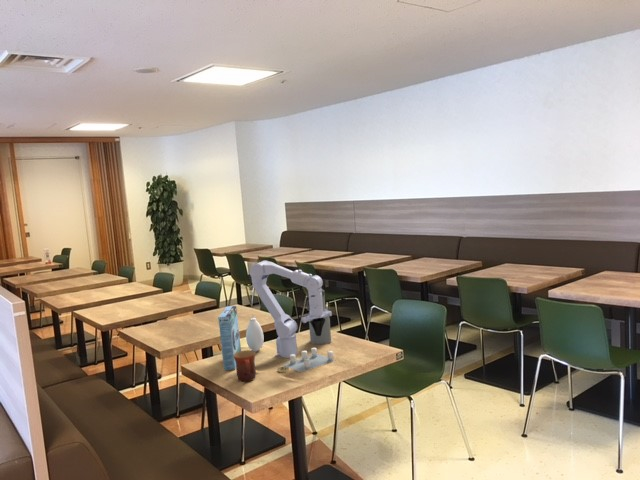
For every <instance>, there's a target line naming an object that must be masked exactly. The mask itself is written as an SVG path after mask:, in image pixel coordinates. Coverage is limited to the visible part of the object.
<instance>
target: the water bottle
mask: <svg viewBox="0 0 640 480" xmlns="http://www.w3.org/2000/svg"><path fill="white" fill-rule="evenodd" d="M322 286H323V285H322ZM322 286H321V287H320V288H321V289H322V301H323V312H325V311H329V310H328V309H327V308H326V300H325V297H326V296H325V295H326V293H325V290H324V289H323V287H322ZM307 297H308V298H309V293H308V292H307ZM306 310H307V312H308V314H307V316H308V315H310V306H309V299H307V301H306ZM323 318H324V319H325V323H324V325H323V328H322V333H321V336H316V334H315V331H314V328H313V326H312V325H311V323H310V321H308V324H309V325H308V326H309V327H308V329H309V338H310V339H309V341H310V343H311V344H313V345H324V344H325V345H326V344H327V345H328V344H330V343H331V342H332V335H331V319H330V316H327V317H323Z"/></svg>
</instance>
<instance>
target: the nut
mask: <svg viewBox="0 0 640 480" xmlns="http://www.w3.org/2000/svg"><path fill="white" fill-rule="evenodd" d="M276 371H277V372H278V373H280V374H281V373H287V372H288V371H290V368H289V367H286V366H284V365H283V366H279V367H278V368H276Z"/></svg>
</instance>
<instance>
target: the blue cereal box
mask: <svg viewBox="0 0 640 480" xmlns="http://www.w3.org/2000/svg"><path fill="white" fill-rule="evenodd" d="M218 325H219V333H220V334H219V336H220V345H221V354H222V364H223V365H222V366H223V371H232V370H236V362H235V359H234V357H233V355H234V354H235V353H237V352H240V351H242V347H241V339H240V327H239V319H238V310H237V305H231V306H226V307H224V310H223V311H222V312H221V313H220V314H219V316H218Z"/></svg>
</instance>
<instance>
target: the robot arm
mask: <svg viewBox="0 0 640 480" xmlns="http://www.w3.org/2000/svg"><path fill="white" fill-rule="evenodd" d="M273 274H274V275H278V276H280V277H284V278H287V279H290V281H291V283H293V284H295V285H299V286H302V287H304V288H306V289H307V294H308V293H309V297H308V300H309V303H308V305H309V309H310V311H309V312H310V315H308V314H307V315H306V316H303V317H301V322H302V323H303V324H306V323H307V322H308V323H309V321H310V323H311V325H312V326H313V328H314V331H315V334H316V336H321V333H322V328H323V325H324V323H325V319H324V318H323V317H327V316H329V317H332V316H333V312H332V311H331V310H328V311H325V312H323V301H322V289H323V288H322V289H321V288H320V287H321V286H324V285H323V283H324V281H323V279H322V277H321V276H319V275H317V274H315V275H313V274H312V273H307V272H304V271H303V270H302V269H295V270H291V269H288V268H286V267H284V266H281V265H279V264H277V263H275V262H273V261H269V260H262V261H260V262H257V263H253V264H252V265H251V267H250V269H249V275H250V277H251V283H252V287H253V290H254V291H255V292H256V294H257V295H258V297H259V298H260V300H261V302H262V303H263V305H264V307H265V308H266V310H267V311H268V312H269V314H270V316H271V317H272V318H273V320H274V324H273V325H274V326H273V327H274V329H275V330H276V335H277V336H278V337H277V338H276V342H275V343H276V344H275V345H276V354H275V357H277V356H280V357H282V358H287V359H290V355H291V354H295V357H297V356H298V344H297V334H296V332H297V330H298V323H297V322H296V320H294V319H293V318H292V317H291V315H289V314H287V313H285V311H284V309H283V308H282V307H281V305H280V304H279V302H278V300H277V298H276V297H275V295H274V294H273V293H272V291H271V290H270V288H269V287H268V285H267V281H268V277H269V276H270V275H273Z"/></svg>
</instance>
